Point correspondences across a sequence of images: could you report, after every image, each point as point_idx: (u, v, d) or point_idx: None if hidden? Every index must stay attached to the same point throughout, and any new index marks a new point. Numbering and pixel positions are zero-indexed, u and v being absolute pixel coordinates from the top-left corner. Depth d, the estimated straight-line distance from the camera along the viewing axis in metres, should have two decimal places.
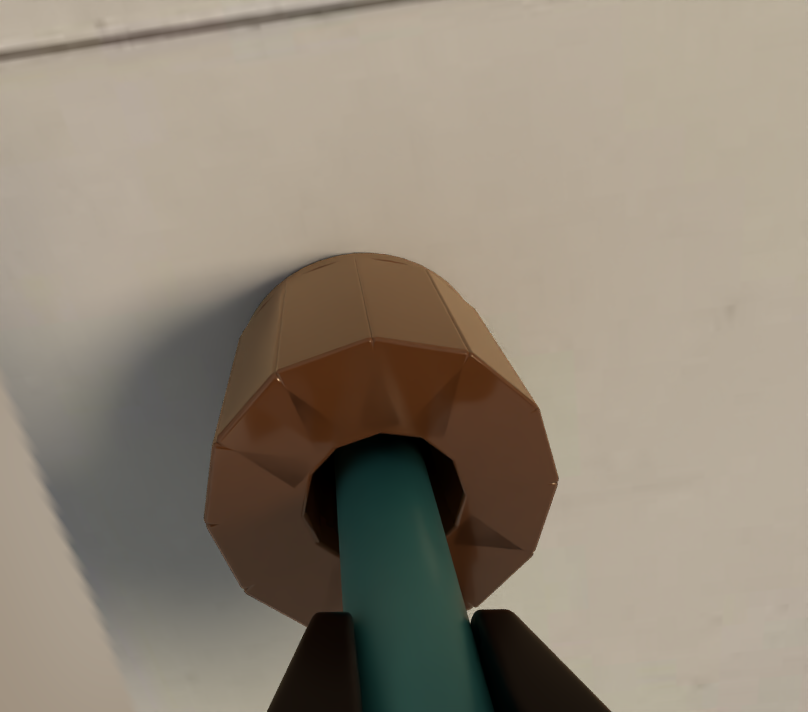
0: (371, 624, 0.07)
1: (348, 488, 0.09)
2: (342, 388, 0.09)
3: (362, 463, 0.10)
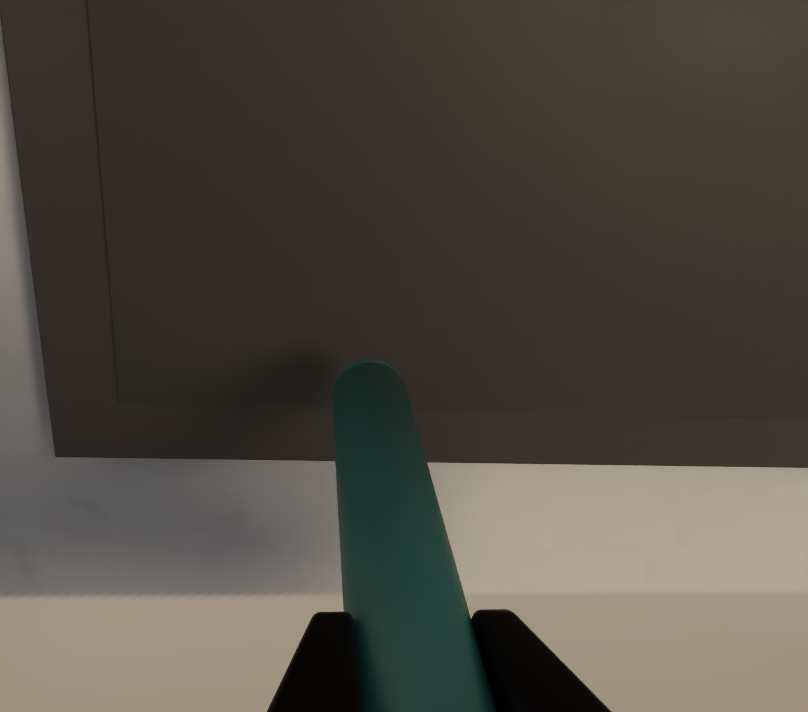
0: (372, 620, 0.07)
1: (349, 485, 0.09)
2: None
3: (363, 459, 0.10)
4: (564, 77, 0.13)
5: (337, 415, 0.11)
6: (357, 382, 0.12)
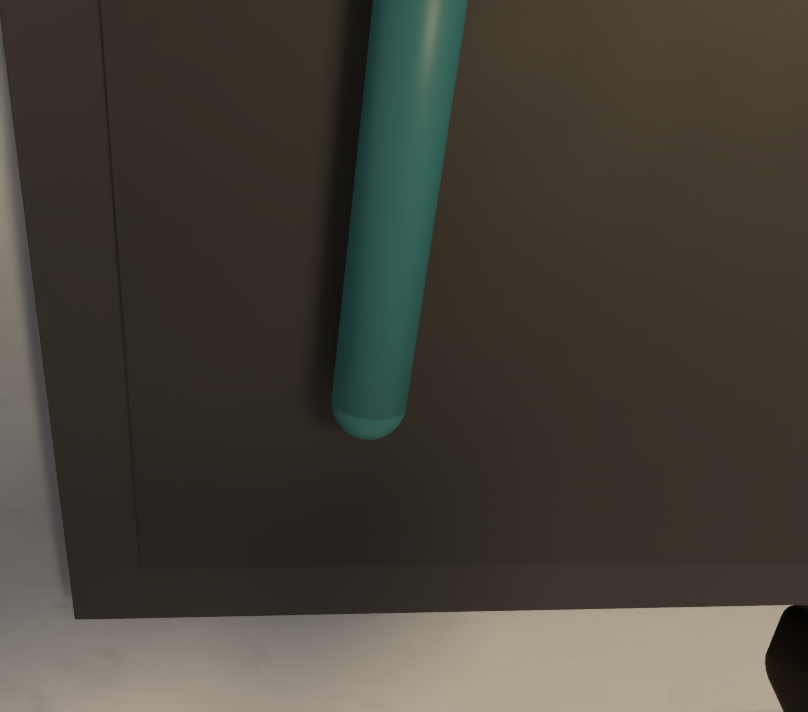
0: None
1: None
2: None
3: None
4: (599, 255, 0.13)
5: (339, 333, 0.12)
6: None
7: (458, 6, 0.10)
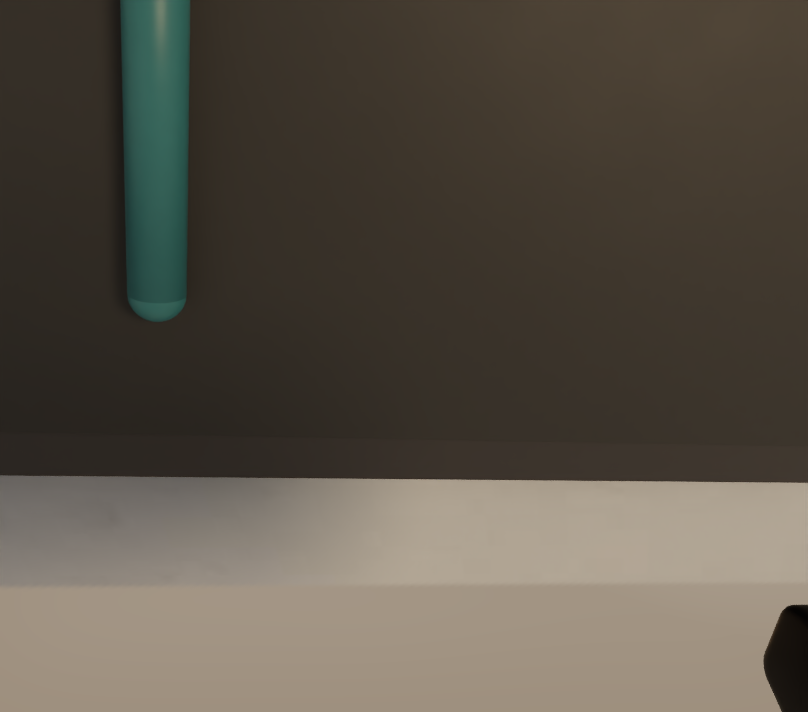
0: None
1: None
2: None
3: None
4: (330, 184, 0.17)
5: None
6: None
7: None
